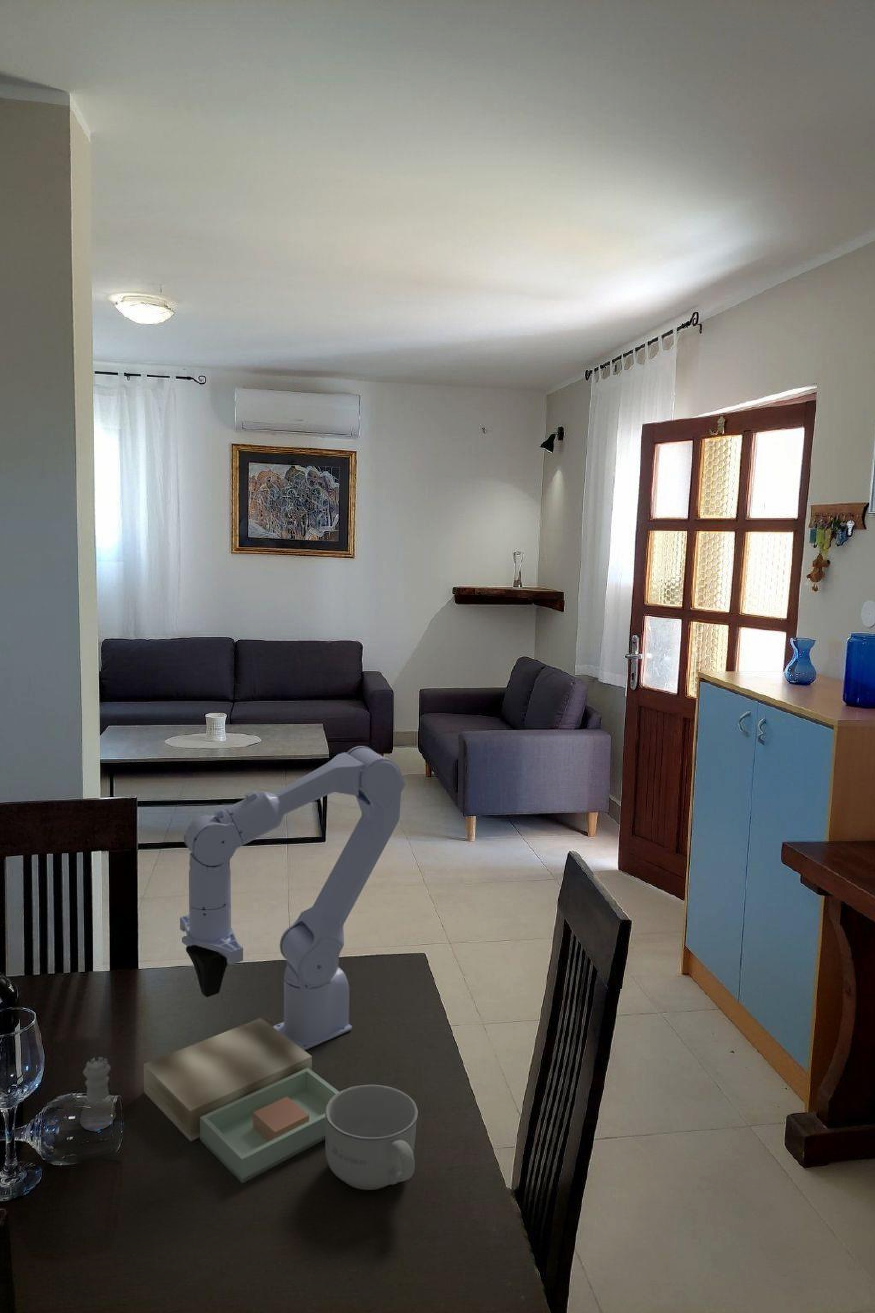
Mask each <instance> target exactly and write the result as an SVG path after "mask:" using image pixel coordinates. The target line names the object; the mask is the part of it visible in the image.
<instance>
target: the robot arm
mask: <svg viewBox="0 0 875 1313" xmlns="http://www.w3.org/2000/svg"><path fill="white" fill-rule="evenodd" d="M405 786H406V781H405V780H404V776H403V775H402V772H401V769H400V766H399V765H398V764H397V763H396V762H395V761H393V760H392V759H390V758H387V757H385V756H382V755H381V754H380V753H377V752H376V751H374V749H372V748H370V747H368V746H364V745H358V746H355V747H352V748H351V749H349V750H348V751H347V752H341V753H338V754H336V756H334V757H333V758H332V759H330V760H329V761H328V762H327V763H325V764H323V765H322V766H319V767H318V768H316V769H314V770H313V771H310V772H309V773H308V774H305V775H304V776H302V777H300V778H299V779H296V780H295V781H293V782H291V783H290V784H288V785H286V786H285V787H283V788H281V789H280V790H278V791H276V792H274V793H271V792H267V791H265V790H260V791H258V792H255V791H254V790H251V791H248V793H246V794H244V795H245V798H244V799H242V800H241V801H238V802H236V803H234V804H232V805H230V806H228V807H227V808H225V809H224V808H223V809H222V808H221V807H220V808H217V809H216V810H214V815H213V814H210V815H208V814H205V815H201V816H198V817H197V818H194V820H192V821H191V822H190V824H189V825H188V826H187V828H186V831H185V834H184V835H183V841H184V844H185V846H186V847H187V849H188V850H190V853H189V862H188V864H189V871H188V907H189V908H188V915H183V916H180V917H179V930H180V931H182V932H185V934H186V935H185V936H182V937H181V943H182V944H184V945H185V946H186V947H185V952H186V953H187V955H188V957H189V958H190V960H191V963H192V964H193V967H194V970H195V973H196V976H197V980H198V984H199V988H200V992H201V993H202V995H203V996H204V997H206V998H209V997H212V996H214V995H218V994H219V993H220V991H221V988H222V984H223V980H224V976H225V972H226V969H227V967H228V964H229V965H230V966H232V965H234V964H238V963H240V962H243V961H244V947H243V946H242V945H241V944H240V943H239V942H238V939H237V936H236V934H235V932H234V929H233V928H232V880H231V879H232V870H231V859H232V858H233V856H235V855H234V854H235V852H236V850H237V849H239V848H241V847H242V846H245V845H246V844H248V843H250V842H252V841H254V840H256V839H257V838H260V837H261V836H264V835H265V834H267V833H269V832H271V831H273V830H275V829H277V828H278V827H280V826H281V824H282V821H283V819H284V817H285V815H287V814H288V813H291V812H292V811H296V810H298V809H299V808H301V807H304V806H306V805H308V804H310V803H313V802H315V801H317V800H319V799H322V798H324V797H326V796H328V795H331V794H333V793H339V794H344V795H351V796H354V797H356V801H357V803H358V807H359V809H360V812H361V816H360V818H359V820H358V821H357V824H356V825H355V827H354V829H353V831H352V832H351V834H350V836H349V838H348V840H347V842H346V843H345V845H344V847H343V850H342V851H341V853H340V855H339V857H338V859H337V861H336V862H335V864H334V866H333V868H332V870H331V872H330V873H329V875H328V877H327V879H326V881H325V883H324V884H323V886H322V888H321V890H320V892H319V894H318V896H317V898H316V899H315V901H314V902H313V905H312V906H311V907H309V908H306V909H305V910H303V911H301V912H300V914H299V916H298V918H297V919H296V920H295V922H294V923H293V924H292V925H290V926H289V927H288V928H287V929H285V930H284V932H283V934H282V936H281V937H280V940H279V951H280V953H281V955H282V956H283V958H284V959H285V960H286V967H285V970H284V974H283V1021H282V1022H280V1023H278V1024H274V1025H273V1026H272V1027H274V1028H275V1029H276V1030H278V1031H279V1032H280V1033H282V1034H283V1035H284V1036H286V1037H287V1038H288V1039H290V1040H291V1041H292V1042H294V1043H295V1044H296V1045H298V1046H299V1047H300V1048H302V1049H303V1050H304V1051H307V1050H309V1049H311V1048H313V1047H315V1046H318V1045H320V1044H322V1043H325V1042H327V1041H330V1040H331V1039H333V1038H336V1037H338V1036H340V1035H342V1034H345V1033H347V1032H349V1031H351V1030H352V1029H353V1026H352V1025H351V1024H350V1022H349V1021H350V1020H349V1019H350V1014H349V1013H350V985H349V981H348V978H347V975H346V974H345V972H344V971H343V970H342V969H341V968H340V966H339V962H340V961H339V960H340V959H339V958H340V953H341V952H342V949H343V948H344V945H345V934H344V933H345V932H344V925H345V922H346V921H347V919H348V917H349V916H350V914H351V912H352V910H353V908H354V906H355V905H356V902H357V901H358V898H359V896H360V895H361V893H362V892H363V889H364V888H365V885H366V884H367V881H368V879H369V878H370V875H371V874H372V872H373V870H374V869H375V866H376V864H377V863H378V861H379V859H380V858H381V855H382V853H383V852H384V850H385V848H386V846H387V844H388V842H389V840H390V838H391V837H392V834H393V833H394V830H395V829H396V827H397V825H398V823H399V821H400V817H401V802H402V801H401V799H402V792H403V790H404V788H405Z"/></svg>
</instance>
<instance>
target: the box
mask: <svg viewBox="0 0 875 1313" xmlns="http://www.w3.org/2000/svg"><path fill="white" fill-rule="evenodd" d="M339 1092H340V1091H339V1090H338V1089H336V1088H335V1087H334V1086H332V1085H331V1084H330V1083H329V1082H328V1081H326V1080H325V1079H323V1078H322V1077H321V1076H319V1075H318V1074H317V1073H315V1072H314V1071H313V1069H312V1070H310V1069H309V1068H306V1069H304V1070H302V1071H299V1072H297V1073H295V1074H293V1075H291V1076H289V1077H286V1078H284V1079H282V1080H280V1081H278V1082H275V1083H273V1084H271V1085H269V1086H267V1087H265V1088H262V1089H260V1090H258V1091H256V1092H254V1093H251V1094H249V1095H247V1096H245V1097H243V1098H241V1099H238V1100H236V1101H234V1102H232V1103H230V1104H228V1105H225V1106H223V1107H221V1108H219V1109H217V1110H214V1111H212V1112H210V1113H208V1114H206V1115H204V1116H201V1117H200V1137H199V1140H200V1141H201V1142H202V1143H203V1145H204V1146H205V1147H206V1148H207V1149H208V1150H209V1151H210V1152H211V1153H212V1154H213V1155H214V1156H215V1157H216V1158H217V1159H218V1161H220V1162H221V1163H222V1165H224V1167H226V1168H227V1170H228V1171H229V1172H230V1173H231V1174H233V1176H234V1177H236V1179H237V1180H238V1181H239V1182H240V1183H241V1184H244V1183H246V1182H247V1181H249V1180H251V1179H253V1178H255V1177H257V1176H259V1175H261V1174H263V1173H265V1172H267V1171H268V1170H270V1169H272V1168H274V1167H276V1166H278V1165H280V1164H282V1163H283V1162H284V1161H288V1160H289V1159H291V1158H292V1157H294V1156H295V1157H296V1156H297V1155H298V1154H300V1153H302V1152H305V1151H306V1150H308V1149H310V1148H311V1147H313V1146H315V1145H317V1144H318V1143H321V1142H322V1141H324V1140H325V1132H326V1116H325V1110H326V1106H327V1104H328V1102H329V1101H330V1099H331V1098H332V1097H333V1096H334V1095H336V1094H337V1093H339ZM284 1097H288V1098H290V1099H291V1100H292V1101H293V1102H294V1103H296V1104H297V1105H298V1106H299V1107H300V1108H301V1109H303V1110H304V1111H305V1112H306V1113H307V1114H309V1122H307V1123H305V1124H303V1125H301V1126H299V1127H297V1128H295V1129H293V1130H291V1131H289V1132H287V1133H285V1134H283V1135H281V1136H279V1137H277V1138H275V1139H273V1140H271V1141H267V1140H266V1139H265V1138H264V1137H263V1136H262V1135H261V1134H260V1133H259V1132H258V1131H257V1130H256V1129H255V1128H253V1112H255V1111H257V1110H259V1109H261V1108H264V1107H266V1106H268V1105H270V1104H272V1103H274V1102H276V1101H278V1100H280V1099H282V1098H284Z"/></svg>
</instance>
